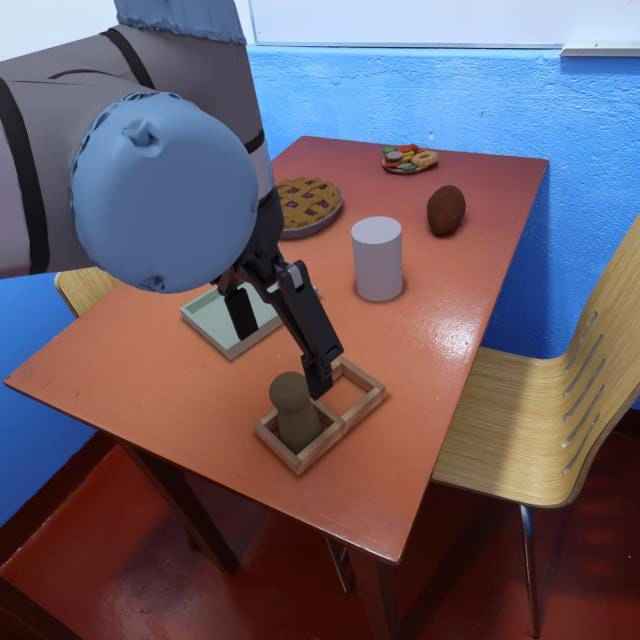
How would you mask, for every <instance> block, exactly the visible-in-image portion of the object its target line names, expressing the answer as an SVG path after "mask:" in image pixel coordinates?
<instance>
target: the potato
mask: <svg viewBox="0 0 640 640" xmlns="http://www.w3.org/2000/svg"><path fill="white" fill-rule="evenodd" d="M466 210H467V203H466V197H465V195H464V194H463V192H462V191H461V189H460V188H458V187H457V186H455V185H452V184H447V185H443V186H440V187H439V188H438V189H437V190H435V191H434V192H433V194H432V195H431V196H430V197H429V198H428V201H427V203H426V218H427V223H428V225H429V227H430V229H431V230H432V231H433V233H434V234H435V235H437V236H446V235H448V234H450V233H451V232H453V231H454V230H455V229H456V228H457V227H458V225H459V224H460V223H461V221H463V217H464V216H465V214H466Z"/></svg>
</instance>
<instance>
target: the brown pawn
mask: <svg viewBox="0 0 640 640" xmlns="http://www.w3.org/2000/svg"><path fill="white" fill-rule="evenodd" d="M268 397H269V400H270V403H271V404H272V405H273V407H274V409H275V408H277V411H278V420H279V426H278V428H279V429H278V430H279V437H280V441H281V442H282V443H283V444H284V445H285V446H286V447H287V448H288V449H289V450H290V451H291V452H292V453H293V454H299V453H300V452H301V451H302V450H304V449H305V448H306V447H307V446H308V445H309V444H310V443H312V442H313V441H314V440H315V439H316V438H317V437H319V436H320V435H321V434H322V433H323V432H324V431H325V430H324V426H323V423H322V421H321V418H319V417H318V415H317V413H316V411H315V409H314V407H313V405H312V402H311V400H310V393H309V389H308V385H307V381H306V378H305V375H303V374H301V373H300V372H297V371H284V372H282V373H280V374H278V375H277V376H275V377H274V379H273V380H272V381H271V383H270V385H269V389H268Z"/></svg>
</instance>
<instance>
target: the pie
mask: <svg viewBox="0 0 640 640" xmlns="http://www.w3.org/2000/svg"><path fill="white" fill-rule="evenodd" d="M274 186H275V187H276V188H277V190H278V193H279V198H280V202H281V206H282V211H283V215H284V220H285V225H284V229H283V231H282V233H281V236H280V238H279V239H283V240H290V239H302V238H305V237H309V236H311V235H313V234H316V233H317V232H319V231H321V230H322V229H324V228H326V227H328V226H329V224H330V223H331V222H332V221H333V220H334V219H335V217H336V216H337V213H338V211H339V209H340V208H341V206H342V204H343V198H344V194H343V193H342V192H341V190H340V188H339V187H336V186H335V185H334V183H332V182H331V181H329V180H326V181H323V180H322V179H321V178H319V177H314V178H311V179H310V178H306V177H305V176H301V177H297V178H295V179H289V178H284V179H281V181H280V182H278V183H275V184H274Z"/></svg>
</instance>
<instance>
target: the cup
mask: <svg viewBox="0 0 640 640" xmlns="http://www.w3.org/2000/svg"><path fill="white" fill-rule="evenodd" d="M350 235H351V245H352V254H353V263H354V264H353V265H354V272H355V282H356V290H357V293H358V295H359V296H360V297H361V298H363V299H365V300H367V301H370V302H385V301H390V300H392V299H394V298H396V297H397V296H399V295H400V294H401V293H402V291H403V245H402V243H403V242H402V241H403V239H402V225H401V224H400V223H399V221H398V220H396V219H394V218H392V217H389V216H378V215H377V216H369V217H366V218H363V219H361V220H359V221H357V222H356V223H355V224H354V225H353V226H352V227H351V230H350Z"/></svg>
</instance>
